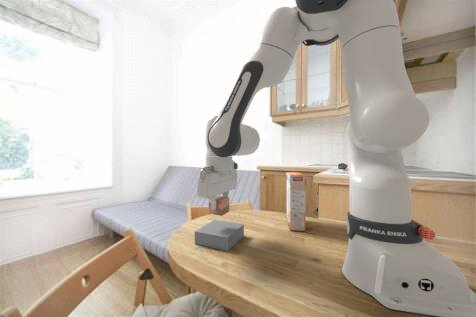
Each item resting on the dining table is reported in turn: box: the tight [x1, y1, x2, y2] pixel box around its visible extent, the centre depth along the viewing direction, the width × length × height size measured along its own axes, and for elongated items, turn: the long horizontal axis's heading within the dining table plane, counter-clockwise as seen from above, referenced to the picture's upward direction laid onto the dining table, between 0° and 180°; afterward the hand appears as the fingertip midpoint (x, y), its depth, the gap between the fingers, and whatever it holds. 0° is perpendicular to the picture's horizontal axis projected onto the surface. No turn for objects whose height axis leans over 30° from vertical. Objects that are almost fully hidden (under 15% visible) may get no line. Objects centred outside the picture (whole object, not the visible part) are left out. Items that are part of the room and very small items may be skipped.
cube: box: [208, 195, 230, 217], centre depth 65 cm, size 5×5×5 cm
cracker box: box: [285, 171, 307, 232], centre depth 78 cm, size 14×6×21 cm, turn 171°
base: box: [194, 219, 245, 252], centre depth 65 cm, size 12×12×4 cm
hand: (219, 206), depth 65 cm, fingers closed on cube, 5 cm apart
